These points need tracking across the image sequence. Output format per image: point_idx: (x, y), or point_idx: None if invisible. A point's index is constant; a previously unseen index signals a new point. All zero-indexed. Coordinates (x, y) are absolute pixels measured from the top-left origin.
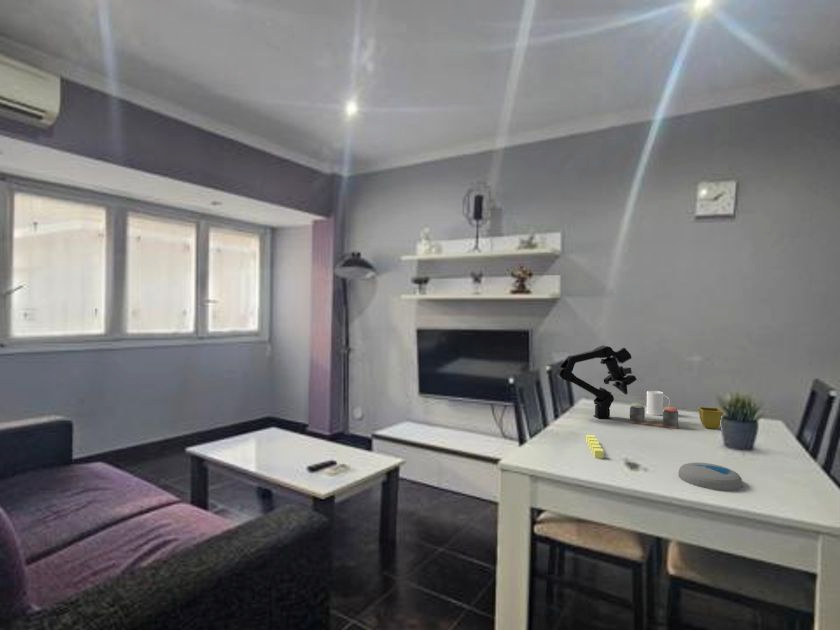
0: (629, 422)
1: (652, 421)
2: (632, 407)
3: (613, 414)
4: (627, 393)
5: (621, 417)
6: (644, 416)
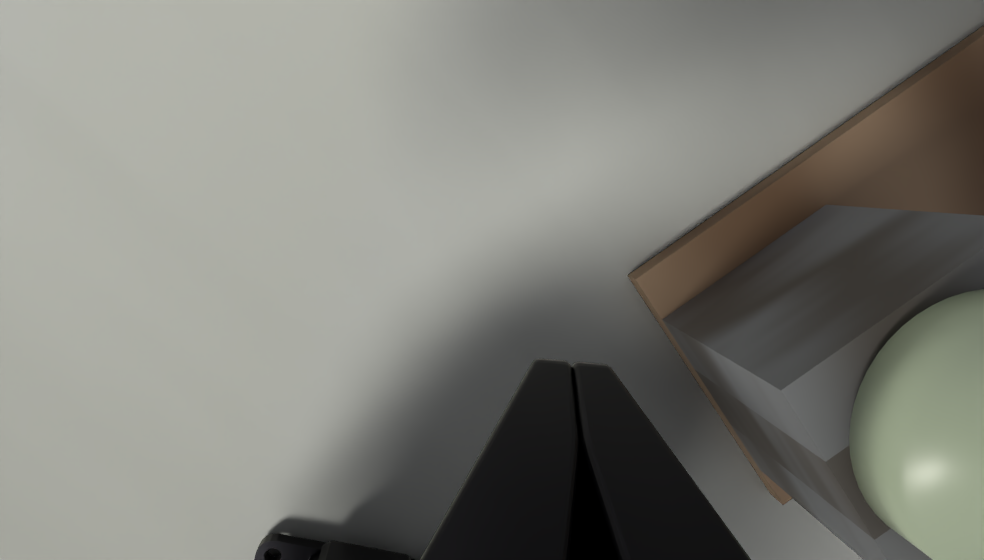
0: (779, 496)
1: (935, 145)
2: None
3: (204, 288)
4: (604, 366)
5: (442, 325)
6: (873, 214)
